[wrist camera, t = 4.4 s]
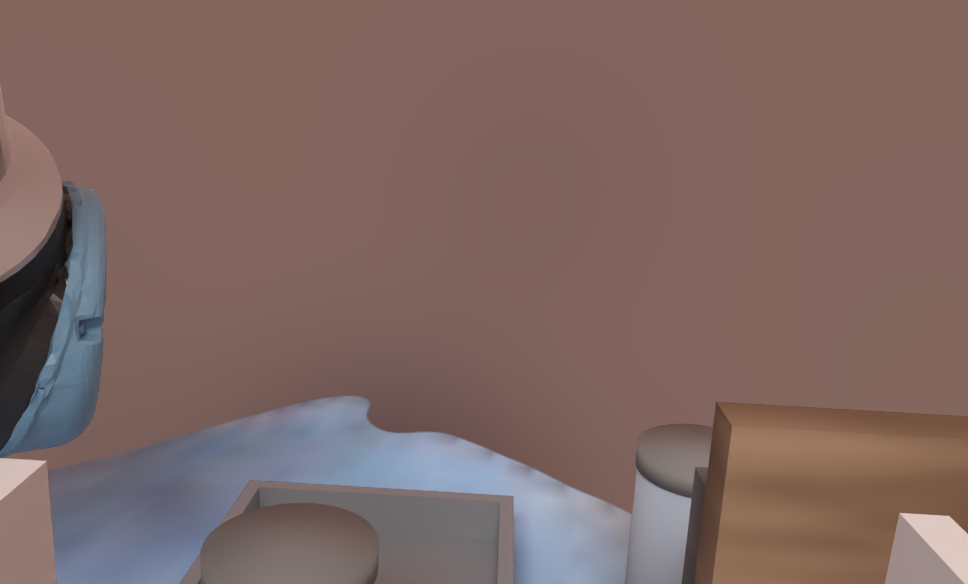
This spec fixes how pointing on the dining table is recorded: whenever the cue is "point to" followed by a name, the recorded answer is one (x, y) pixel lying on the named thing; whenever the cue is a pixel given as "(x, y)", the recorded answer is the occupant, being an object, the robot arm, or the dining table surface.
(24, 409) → the robot arm
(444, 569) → the tray
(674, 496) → the gray canister
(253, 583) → the sage canister
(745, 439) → the panel
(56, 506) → the dining table surface
